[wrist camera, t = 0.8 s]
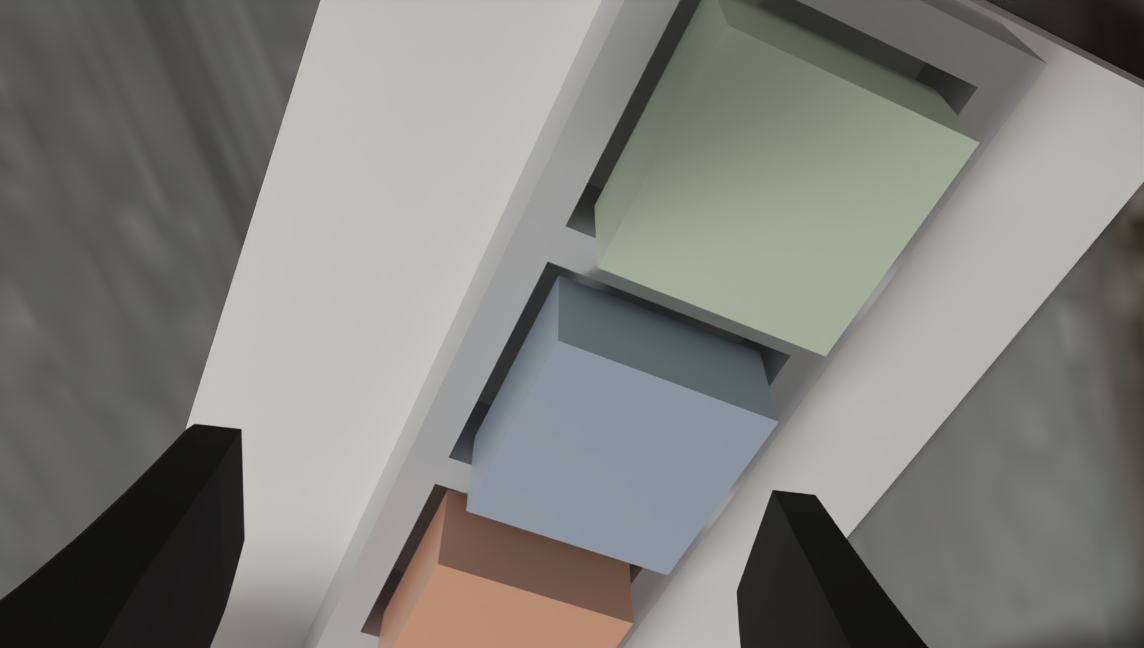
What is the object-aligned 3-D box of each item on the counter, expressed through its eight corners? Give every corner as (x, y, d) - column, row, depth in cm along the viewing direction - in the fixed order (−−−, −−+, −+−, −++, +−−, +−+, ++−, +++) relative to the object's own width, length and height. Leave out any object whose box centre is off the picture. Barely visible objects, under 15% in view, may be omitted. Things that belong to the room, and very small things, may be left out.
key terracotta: (628, 547, 24) (633, 623, 22) (550, 661, 26) (550, 738, 24) (448, 489, 23) (437, 563, 21) (384, 613, 25) (369, 690, 23)
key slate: (759, 352, 21) (778, 422, 19) (659, 500, 23) (668, 575, 21) (558, 275, 20) (558, 340, 18) (474, 437, 22) (466, 511, 20)
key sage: (936, 90, 18) (979, 142, 16) (801, 290, 20) (825, 356, 18) (709, -18, 17) (727, 25, 15) (594, 206, 19) (597, 267, 17)
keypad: (1167, 92, 21) (1263, 164, 18) (625, 765, 33) (630, 870, 30) (418, -286, 17) (389, -273, 14) (126, 632, 30) (79, 736, 27)
